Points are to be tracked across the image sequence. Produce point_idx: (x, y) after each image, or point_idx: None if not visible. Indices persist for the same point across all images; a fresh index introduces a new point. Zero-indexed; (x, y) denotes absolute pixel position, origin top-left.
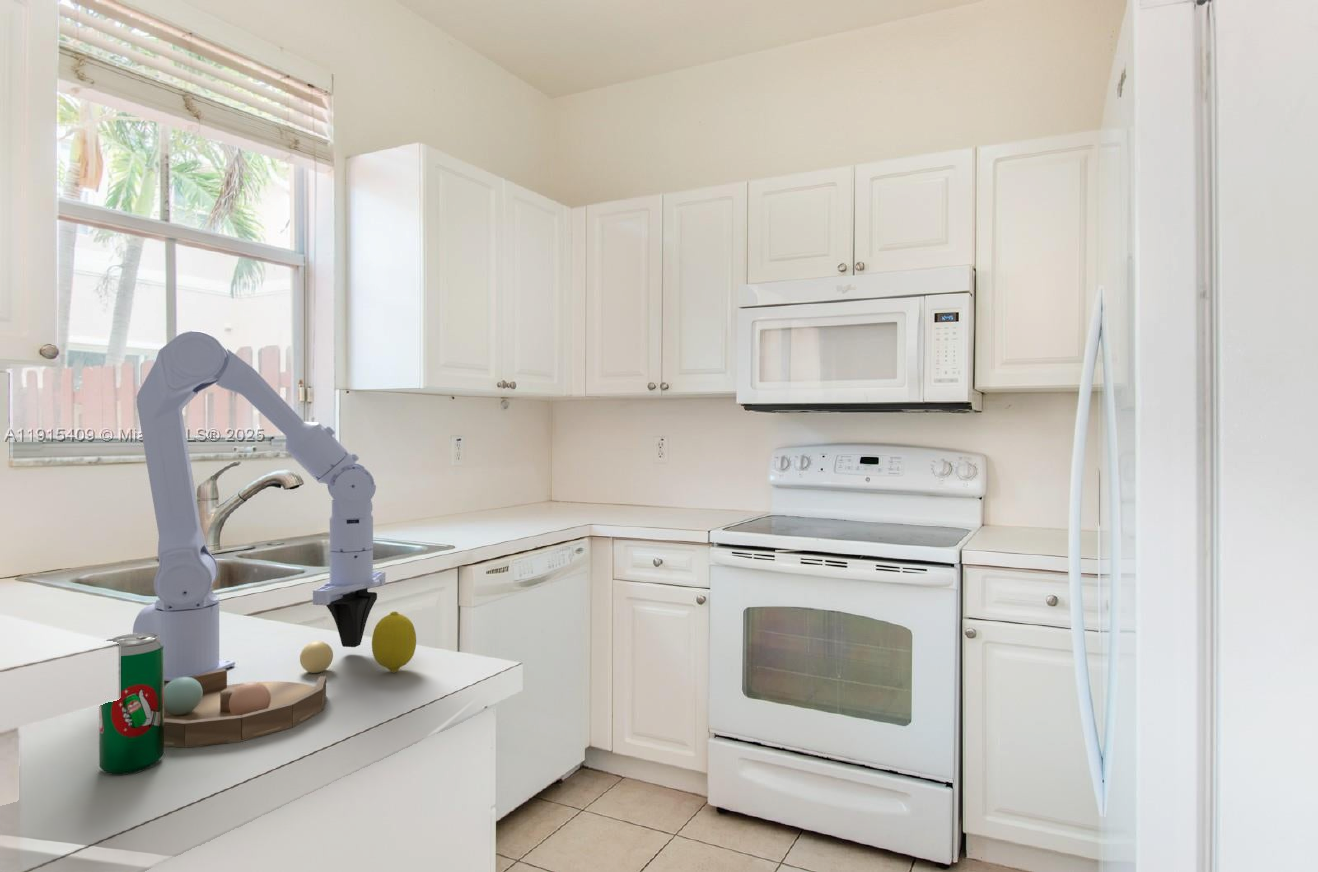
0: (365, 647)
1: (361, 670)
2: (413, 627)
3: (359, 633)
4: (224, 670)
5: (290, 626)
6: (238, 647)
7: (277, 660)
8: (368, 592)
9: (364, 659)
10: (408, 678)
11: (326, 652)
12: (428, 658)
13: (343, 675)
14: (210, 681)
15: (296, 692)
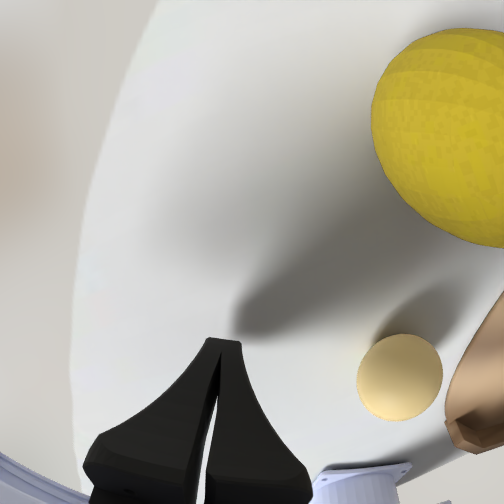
0: (136, 328)
1: (386, 243)
2: (497, 31)
3: (227, 364)
4: (464, 441)
5: (78, 458)
6: None
7: None
8: (104, 486)
9: (262, 285)
10: None
11: (431, 360)
12: (231, 56)
13: (426, 274)
14: (468, 434)
15: None
